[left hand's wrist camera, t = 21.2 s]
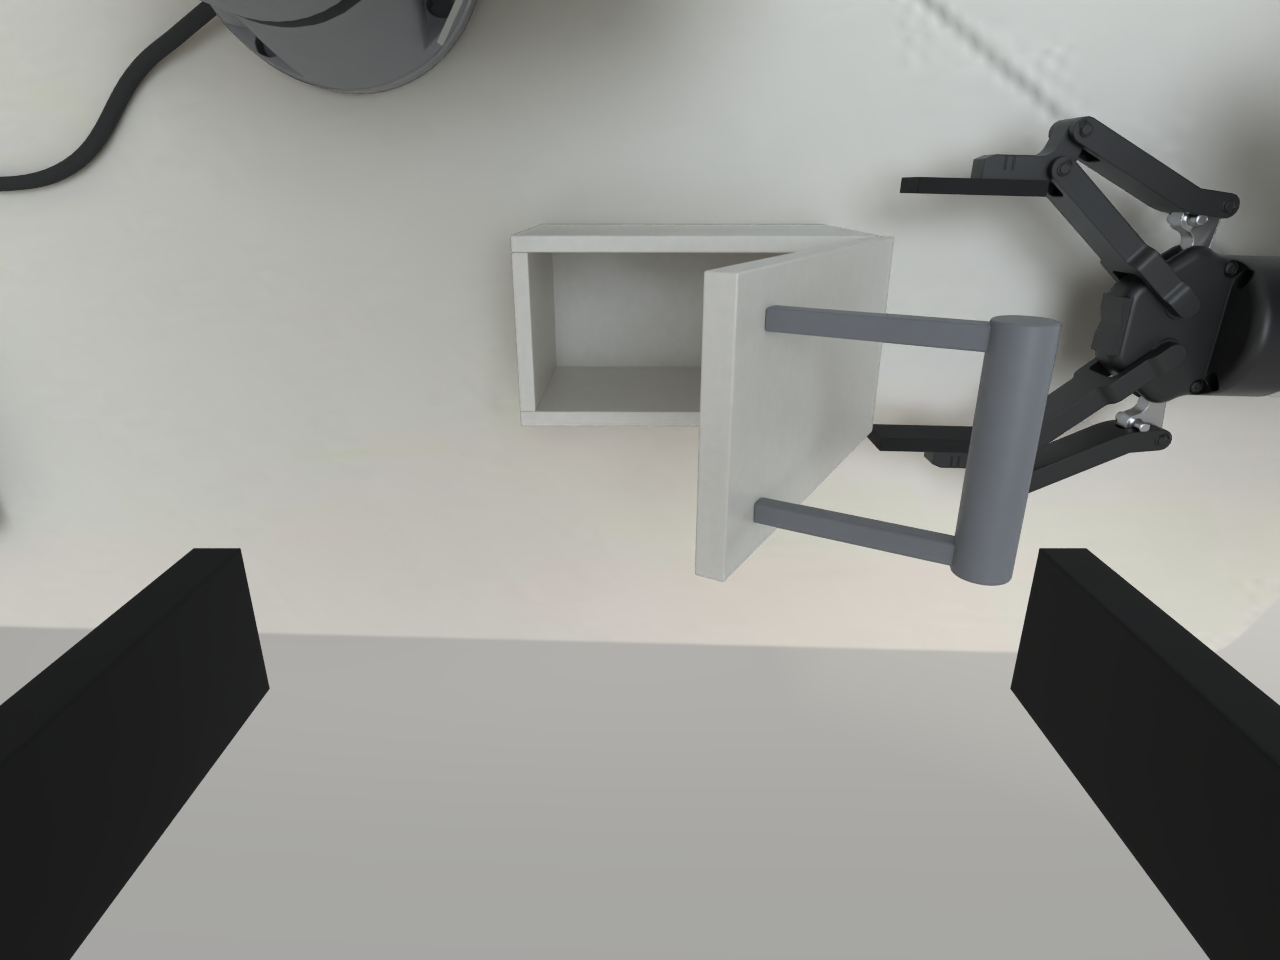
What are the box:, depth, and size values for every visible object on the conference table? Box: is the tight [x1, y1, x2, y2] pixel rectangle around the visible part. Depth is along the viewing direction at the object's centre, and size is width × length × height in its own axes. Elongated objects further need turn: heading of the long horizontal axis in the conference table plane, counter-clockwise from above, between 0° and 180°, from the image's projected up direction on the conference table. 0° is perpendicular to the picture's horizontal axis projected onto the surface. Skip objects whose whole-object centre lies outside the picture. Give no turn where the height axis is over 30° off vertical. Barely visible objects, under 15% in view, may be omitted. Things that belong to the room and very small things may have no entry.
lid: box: [695, 236, 1061, 586], centre depth 28 cm, size 18×9×9 cm
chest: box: [510, 224, 878, 426], centre depth 42 cm, size 17×9×11 cm, turn 90°
